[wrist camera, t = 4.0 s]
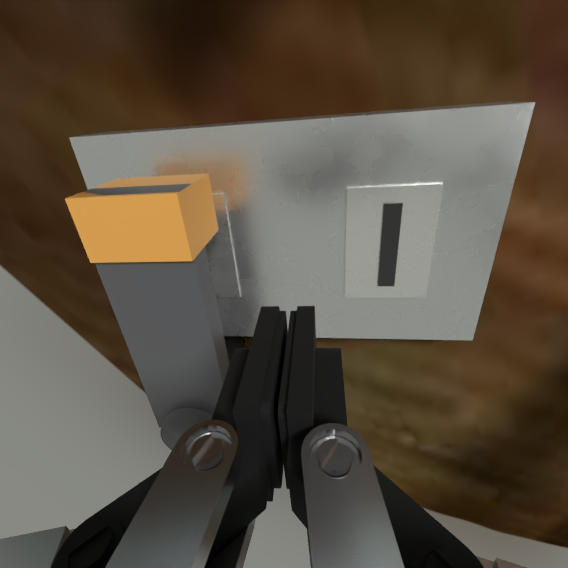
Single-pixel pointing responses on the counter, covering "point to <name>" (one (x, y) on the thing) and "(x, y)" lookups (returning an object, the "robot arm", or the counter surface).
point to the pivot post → (233, 344)
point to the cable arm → (160, 287)
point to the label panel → (343, 211)
